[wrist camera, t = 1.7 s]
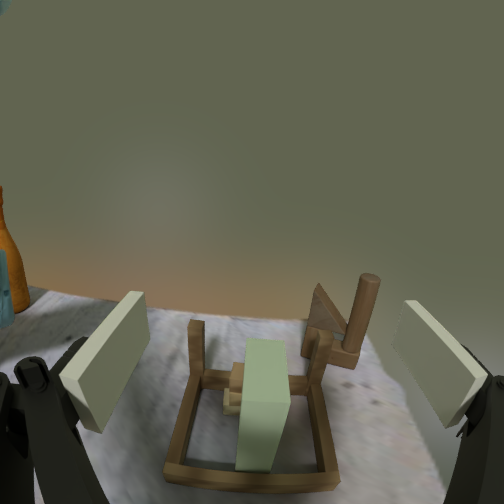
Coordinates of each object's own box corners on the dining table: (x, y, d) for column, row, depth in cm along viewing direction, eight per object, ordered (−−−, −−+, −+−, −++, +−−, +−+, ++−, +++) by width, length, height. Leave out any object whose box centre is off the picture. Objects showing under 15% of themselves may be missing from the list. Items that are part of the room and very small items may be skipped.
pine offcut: (222, 415, 36) (223, 405, 35) (224, 398, 40) (224, 388, 39) (284, 417, 37) (287, 407, 36) (282, 401, 40) (284, 390, 39)
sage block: (234, 477, 26) (241, 400, 21) (238, 424, 35) (246, 337, 29) (267, 478, 26) (290, 402, 21) (267, 426, 35) (284, 340, 29)
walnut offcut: (229, 391, 35) (229, 378, 34) (232, 375, 38) (233, 362, 37) (281, 397, 35) (284, 384, 34) (281, 380, 38) (284, 367, 37)
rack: (166, 481, 24) (147, 431, 20) (193, 379, 43) (190, 319, 39) (333, 490, 24) (369, 442, 20) (314, 387, 43) (331, 329, 39)
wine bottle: (20, 294, 57) (5, 182, 47) (38, 304, 55) (20, 181, 45) (-5, 308, 48) (-26, 189, 38) (10, 320, 46) (-15, 189, 36)
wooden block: (304, 346, 54) (321, 262, 48) (356, 359, 50) (382, 275, 44) (299, 357, 50) (317, 268, 45) (354, 371, 47) (382, 283, 41)
